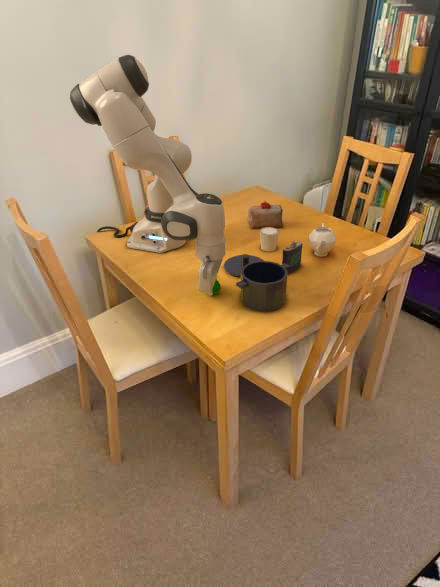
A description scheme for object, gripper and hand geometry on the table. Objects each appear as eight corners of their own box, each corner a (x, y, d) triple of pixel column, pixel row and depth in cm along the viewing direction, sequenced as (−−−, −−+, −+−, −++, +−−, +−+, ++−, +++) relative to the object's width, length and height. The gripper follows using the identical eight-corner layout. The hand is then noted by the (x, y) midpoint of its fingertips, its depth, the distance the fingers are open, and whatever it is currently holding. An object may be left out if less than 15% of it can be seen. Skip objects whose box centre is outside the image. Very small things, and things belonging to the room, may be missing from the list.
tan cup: (276, 252, 153) (277, 235, 149) (258, 251, 154) (258, 234, 150) (278, 244, 159) (279, 227, 155) (260, 243, 160) (260, 226, 156)
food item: (249, 230, 170) (249, 207, 165) (247, 222, 177) (247, 199, 171) (282, 229, 170) (284, 205, 165) (280, 221, 177) (281, 198, 171)
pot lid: (215, 265, 146) (215, 254, 144) (248, 253, 153) (248, 242, 151) (241, 283, 136) (241, 271, 134) (275, 269, 143) (275, 257, 141)
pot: (224, 299, 129) (224, 272, 123) (271, 279, 138) (273, 254, 132) (252, 320, 119) (253, 292, 114) (301, 298, 128) (304, 271, 123)
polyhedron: (210, 299, 129) (210, 286, 126) (201, 292, 132) (201, 279, 130) (223, 293, 131) (223, 280, 129) (214, 287, 135) (214, 274, 132)
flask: (296, 263, 146) (298, 235, 140) (303, 266, 145) (306, 238, 139) (279, 273, 141) (281, 244, 135) (286, 276, 139) (288, 247, 133)
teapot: (334, 242, 159) (337, 219, 154) (334, 268, 143) (337, 243, 138) (308, 240, 161) (310, 217, 156) (305, 265, 145) (308, 241, 140)
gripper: (214, 267, 114) (216, 308, 122) (226, 235, 131) (227, 273, 139) (192, 265, 115) (194, 306, 123) (206, 233, 132) (208, 271, 140)
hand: (212, 288), depth 131 cm, fingers closed on polyhedron, 5 cm apart
